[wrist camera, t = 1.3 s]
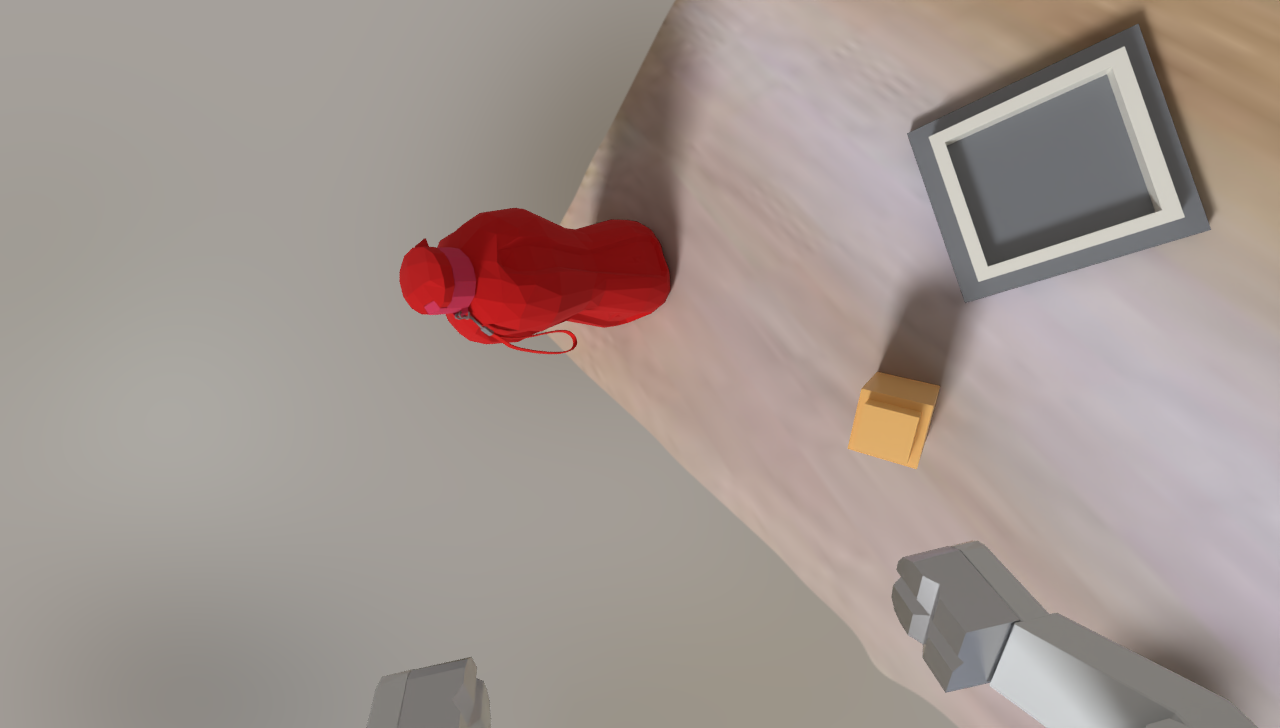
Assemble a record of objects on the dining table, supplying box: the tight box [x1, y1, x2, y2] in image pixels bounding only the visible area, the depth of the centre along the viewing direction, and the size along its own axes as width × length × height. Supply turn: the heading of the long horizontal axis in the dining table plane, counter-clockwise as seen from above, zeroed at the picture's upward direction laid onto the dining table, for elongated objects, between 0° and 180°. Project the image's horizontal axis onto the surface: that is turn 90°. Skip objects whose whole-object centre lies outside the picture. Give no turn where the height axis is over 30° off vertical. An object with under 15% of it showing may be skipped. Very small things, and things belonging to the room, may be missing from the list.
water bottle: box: [400, 208, 670, 354], centre depth 44 cm, size 9×11×25 cm
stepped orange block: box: [848, 372, 940, 469], centre depth 40 cm, size 5×5×9 cm
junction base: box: [907, 24, 1211, 303], centre depth 36 cm, size 13×13×2 cm
